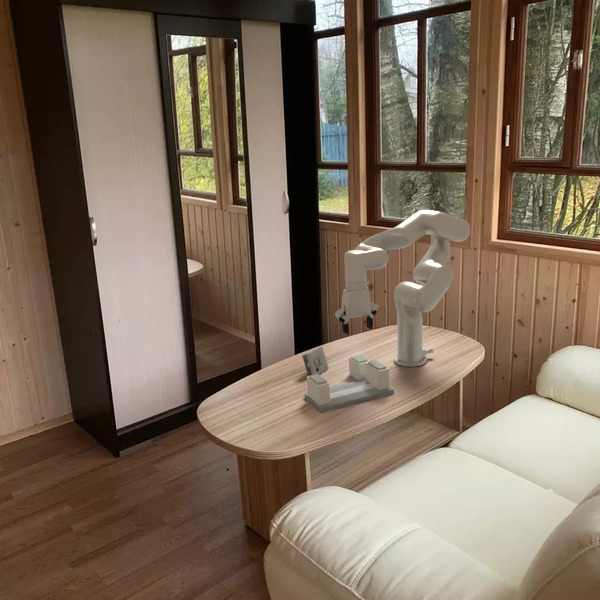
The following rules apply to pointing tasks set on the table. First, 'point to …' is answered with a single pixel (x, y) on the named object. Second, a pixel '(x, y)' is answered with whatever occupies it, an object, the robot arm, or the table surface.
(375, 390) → the rail board
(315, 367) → the electrical switch
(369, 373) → the mounted modules
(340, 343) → the table surface
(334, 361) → the table surface
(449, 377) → the table surface
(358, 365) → the block
